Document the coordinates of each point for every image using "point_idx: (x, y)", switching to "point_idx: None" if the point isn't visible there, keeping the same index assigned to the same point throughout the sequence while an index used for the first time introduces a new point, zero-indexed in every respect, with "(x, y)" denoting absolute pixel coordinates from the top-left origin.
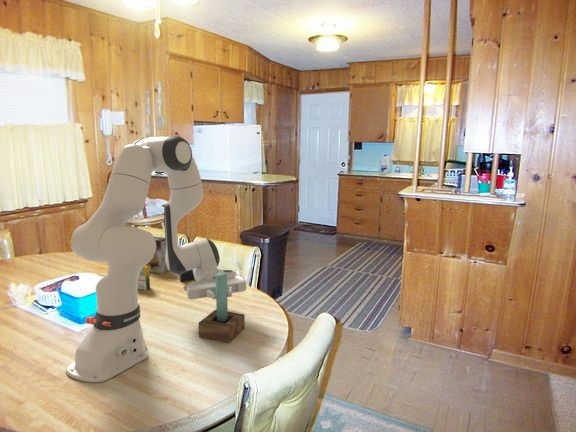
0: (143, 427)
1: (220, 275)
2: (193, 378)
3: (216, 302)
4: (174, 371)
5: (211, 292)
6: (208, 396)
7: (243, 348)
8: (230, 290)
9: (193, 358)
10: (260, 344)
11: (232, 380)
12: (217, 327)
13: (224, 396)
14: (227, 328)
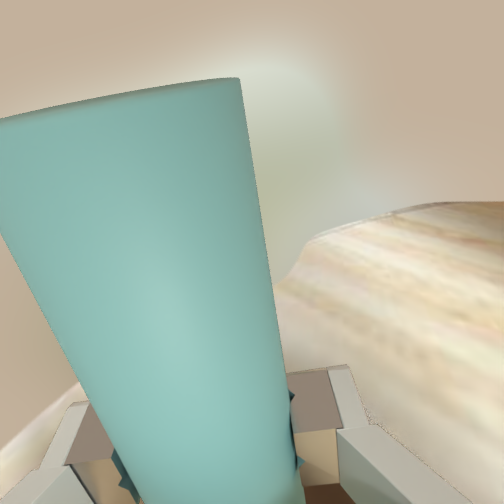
0: (480, 201)
1: (154, 90)
2: (412, 282)
3: (303, 491)
4: (495, 313)
5: (367, 432)
6: (361, 240)
7: None
8: (60, 435)
9: (443, 369)
10: None
11: (300, 269)
12: None
13: (325, 239)
14: None
